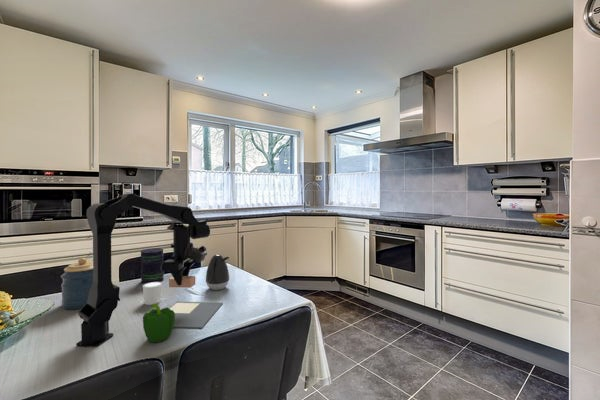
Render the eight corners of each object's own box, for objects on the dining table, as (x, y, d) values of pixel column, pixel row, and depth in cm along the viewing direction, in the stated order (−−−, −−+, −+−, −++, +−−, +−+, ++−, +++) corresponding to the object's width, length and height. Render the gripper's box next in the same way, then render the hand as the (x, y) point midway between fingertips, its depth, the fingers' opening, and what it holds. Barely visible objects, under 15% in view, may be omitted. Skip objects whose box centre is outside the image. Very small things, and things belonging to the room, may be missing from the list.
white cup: (154, 306, 108) (154, 287, 108) (138, 304, 110) (138, 286, 109) (166, 299, 115) (166, 282, 115) (151, 298, 116) (151, 281, 116)
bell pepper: (179, 337, 85) (179, 304, 85) (150, 349, 79) (149, 313, 79) (167, 328, 91) (166, 297, 90) (139, 338, 84) (138, 305, 84)
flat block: (169, 287, 103) (168, 278, 103) (174, 283, 107) (174, 275, 107) (190, 287, 103) (190, 279, 103) (195, 284, 107) (195, 276, 107)
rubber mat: (201, 328, 90) (201, 326, 90) (147, 326, 92) (147, 325, 92) (222, 303, 110) (222, 302, 110) (177, 302, 112) (177, 301, 112)
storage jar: (143, 278, 141) (143, 248, 141) (165, 277, 144) (164, 247, 144) (138, 285, 132) (138, 253, 131) (162, 283, 135) (161, 251, 134)
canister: (94, 294, 120) (93, 253, 119) (110, 301, 113) (109, 256, 112) (55, 305, 109) (54, 259, 108) (70, 313, 102) (69, 264, 101)
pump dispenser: (224, 292, 122) (223, 257, 122) (201, 291, 124) (201, 256, 123) (233, 285, 132) (233, 252, 132) (212, 284, 134) (211, 251, 133)
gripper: (192, 246, 95) (192, 292, 95) (212, 237, 113) (213, 276, 114) (159, 245, 95) (160, 292, 96) (185, 236, 114) (185, 275, 114)
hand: (182, 283), depth 105 cm, fingers closed on flat block, 4 cm apart
